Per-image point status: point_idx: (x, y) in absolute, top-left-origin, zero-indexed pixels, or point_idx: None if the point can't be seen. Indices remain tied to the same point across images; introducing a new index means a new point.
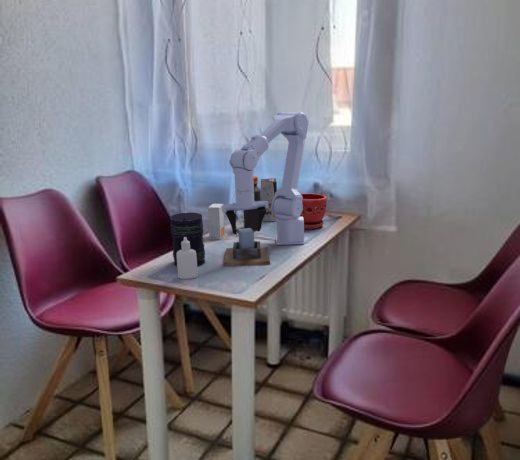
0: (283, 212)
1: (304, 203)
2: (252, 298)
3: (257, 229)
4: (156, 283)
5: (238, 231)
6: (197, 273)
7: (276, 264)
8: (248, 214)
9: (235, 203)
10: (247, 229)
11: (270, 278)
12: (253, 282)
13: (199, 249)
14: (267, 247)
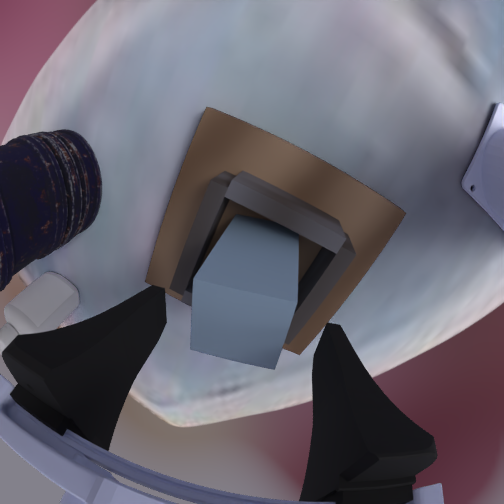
0: None
1: None
2: (176, 423)
3: (316, 357)
4: (22, 277)
5: (198, 274)
6: (75, 308)
7: None
8: None
9: (54, 477)
10: (255, 323)
11: (243, 402)
12: (197, 396)
13: (46, 254)
14: (396, 221)
